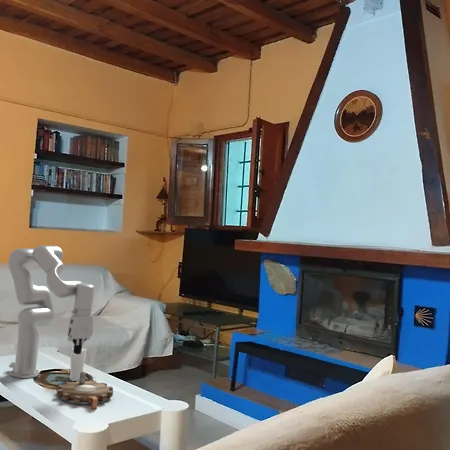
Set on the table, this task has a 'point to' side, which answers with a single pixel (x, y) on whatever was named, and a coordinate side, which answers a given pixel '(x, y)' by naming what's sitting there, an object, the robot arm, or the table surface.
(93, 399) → the sprocket stand
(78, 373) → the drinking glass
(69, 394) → the sprocket
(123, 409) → the table surface
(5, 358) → the table surface
